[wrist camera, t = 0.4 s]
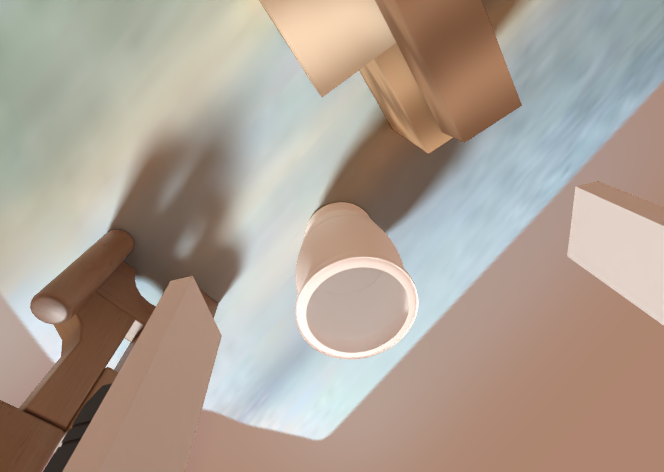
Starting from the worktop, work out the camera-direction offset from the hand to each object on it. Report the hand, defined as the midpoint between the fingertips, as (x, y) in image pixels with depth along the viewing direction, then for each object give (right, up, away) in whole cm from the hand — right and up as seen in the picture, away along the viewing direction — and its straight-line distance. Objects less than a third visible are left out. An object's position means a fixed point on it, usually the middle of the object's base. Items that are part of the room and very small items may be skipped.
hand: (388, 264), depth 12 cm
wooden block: (+5, +14, +11) cm, 19 cm away
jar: (-1, +1, +30) cm, 30 cm away
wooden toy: (-24, -5, +31) cm, 39 cm away
